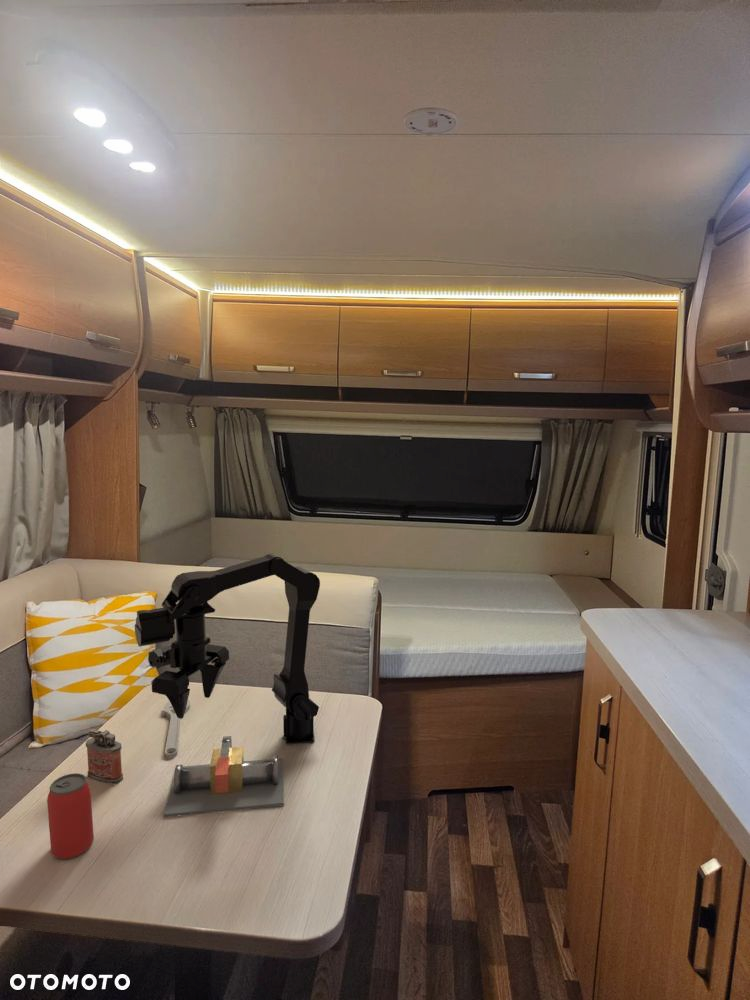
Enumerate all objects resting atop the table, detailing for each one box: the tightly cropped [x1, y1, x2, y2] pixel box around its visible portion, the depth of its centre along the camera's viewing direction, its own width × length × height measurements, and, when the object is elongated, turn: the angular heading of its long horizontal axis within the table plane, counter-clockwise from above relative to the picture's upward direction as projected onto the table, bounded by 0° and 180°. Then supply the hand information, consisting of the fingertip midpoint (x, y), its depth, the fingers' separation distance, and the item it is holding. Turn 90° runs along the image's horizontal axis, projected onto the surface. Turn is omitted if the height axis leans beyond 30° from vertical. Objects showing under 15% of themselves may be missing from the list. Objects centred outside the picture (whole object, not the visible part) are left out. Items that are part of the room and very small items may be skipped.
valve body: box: [173, 746, 279, 795], centre depth 118 cm, size 20×6×7 cm, turn 100°
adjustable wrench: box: [161, 699, 191, 759], centre depth 140 cm, size 25×6×2 cm, turn 11°
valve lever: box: [215, 735, 233, 793], centre depth 112 cm, size 13×2×3 cm, turn 10°
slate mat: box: [163, 757, 285, 818], centre depth 118 cm, size 22×15×1 cm
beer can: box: [46, 773, 95, 860], centre depth 101 cm, size 7×7×12 cm
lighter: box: [85, 728, 124, 785], centre depth 120 cm, size 8×3×10 cm, turn 71°
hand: (194, 707), depth 123 cm, fingers open, 9 cm apart
